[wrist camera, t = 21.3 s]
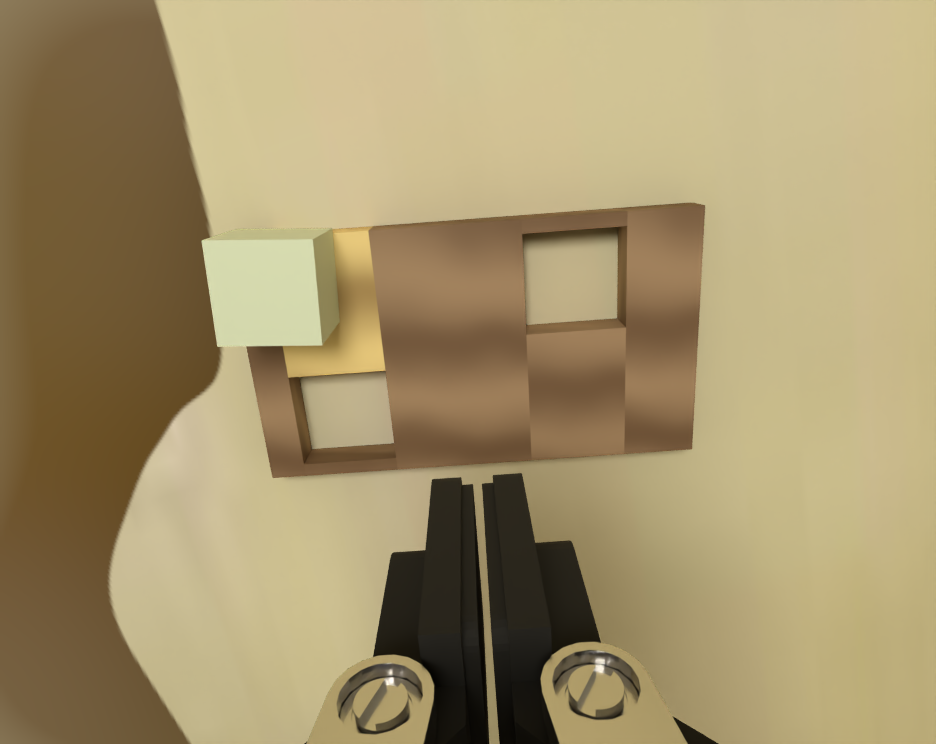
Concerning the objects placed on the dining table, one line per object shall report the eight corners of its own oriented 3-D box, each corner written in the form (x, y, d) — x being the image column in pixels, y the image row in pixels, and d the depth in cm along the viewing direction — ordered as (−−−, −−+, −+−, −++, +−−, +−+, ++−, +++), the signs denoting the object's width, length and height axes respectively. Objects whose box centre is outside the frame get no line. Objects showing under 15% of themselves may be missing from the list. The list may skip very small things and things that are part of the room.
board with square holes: (680, 434, 38) (691, 449, 37) (281, 462, 39) (272, 478, 37) (691, 202, 34) (705, 205, 32) (238, 236, 34) (225, 241, 32)
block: (339, 321, 34) (322, 345, 30) (248, 322, 34) (217, 346, 30) (332, 228, 32) (312, 239, 28) (236, 228, 32) (201, 240, 28)
